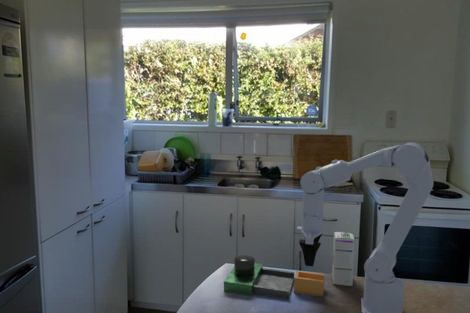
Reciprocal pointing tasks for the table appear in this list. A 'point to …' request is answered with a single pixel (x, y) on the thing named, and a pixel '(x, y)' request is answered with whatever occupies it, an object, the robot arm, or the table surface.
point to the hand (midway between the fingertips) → (310, 260)
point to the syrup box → (343, 258)
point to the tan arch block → (309, 283)
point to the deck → (257, 279)
